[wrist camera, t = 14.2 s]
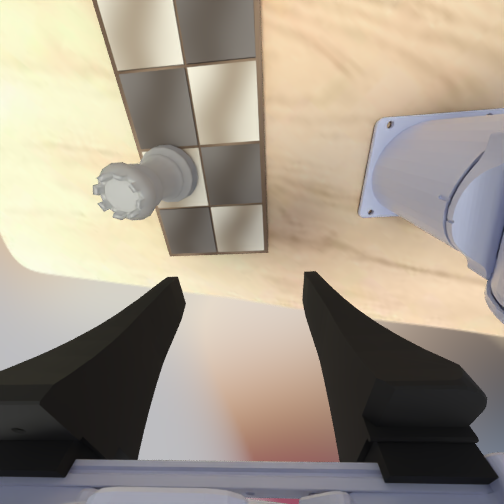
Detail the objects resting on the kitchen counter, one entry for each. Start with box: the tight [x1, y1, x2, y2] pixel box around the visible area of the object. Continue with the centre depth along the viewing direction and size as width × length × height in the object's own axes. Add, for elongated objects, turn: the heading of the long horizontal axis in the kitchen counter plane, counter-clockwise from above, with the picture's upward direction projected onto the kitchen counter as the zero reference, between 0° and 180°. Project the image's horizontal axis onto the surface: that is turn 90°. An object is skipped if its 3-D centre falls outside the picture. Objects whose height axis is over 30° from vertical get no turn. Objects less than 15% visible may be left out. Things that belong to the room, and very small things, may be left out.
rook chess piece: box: [93, 145, 198, 220], centre depth 14 cm, size 4×4×8 cm
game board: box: [92, 0, 268, 256], centre depth 17 cm, size 11×21×1 cm, turn 4°
